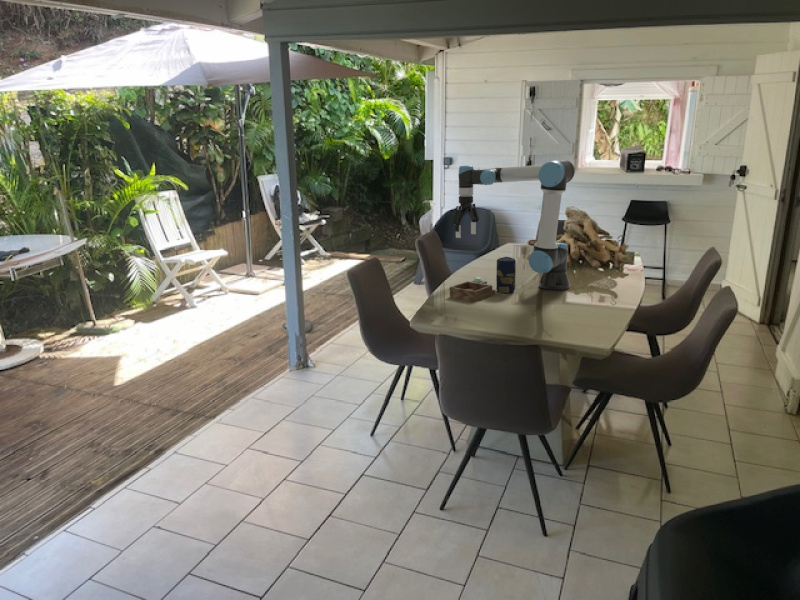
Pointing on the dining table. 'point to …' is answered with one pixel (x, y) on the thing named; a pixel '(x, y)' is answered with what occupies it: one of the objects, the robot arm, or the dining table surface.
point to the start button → (477, 280)
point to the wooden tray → (471, 291)
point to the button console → (481, 282)
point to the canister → (506, 274)
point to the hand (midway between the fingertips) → (465, 235)
